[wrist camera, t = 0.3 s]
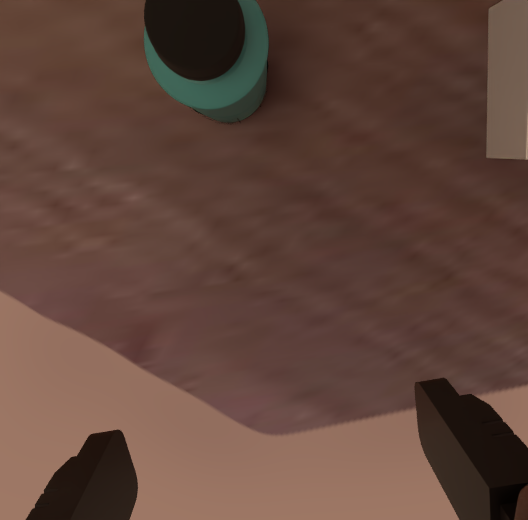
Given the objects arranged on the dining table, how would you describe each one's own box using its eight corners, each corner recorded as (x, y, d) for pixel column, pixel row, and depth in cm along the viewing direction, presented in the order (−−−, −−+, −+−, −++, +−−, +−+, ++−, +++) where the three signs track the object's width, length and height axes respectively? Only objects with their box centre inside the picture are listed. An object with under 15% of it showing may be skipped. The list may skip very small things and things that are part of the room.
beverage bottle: (283, 78, 35) (311, -5, 16) (236, 142, 37) (210, 137, 17) (221, 26, 34) (171, -130, 15) (175, 94, 36) (76, 31, 16)
